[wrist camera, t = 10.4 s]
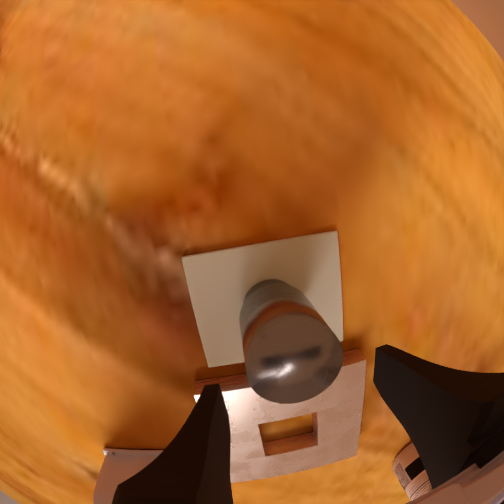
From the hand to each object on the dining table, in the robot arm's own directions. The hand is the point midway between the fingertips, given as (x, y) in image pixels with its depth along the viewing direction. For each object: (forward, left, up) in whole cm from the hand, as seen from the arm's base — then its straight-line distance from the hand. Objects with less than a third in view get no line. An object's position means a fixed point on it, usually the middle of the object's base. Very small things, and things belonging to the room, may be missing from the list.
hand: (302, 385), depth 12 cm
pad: (0, 0, -10) cm, 10 cm away
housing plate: (0, -13, -10) cm, 16 cm away
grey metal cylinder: (0, 0, -9) cm, 9 cm away
